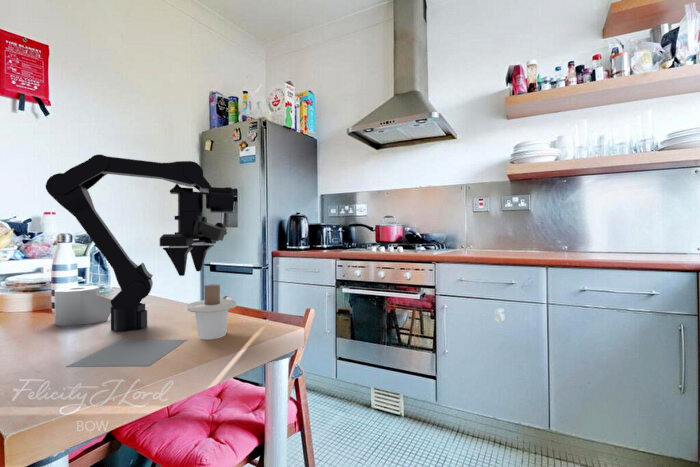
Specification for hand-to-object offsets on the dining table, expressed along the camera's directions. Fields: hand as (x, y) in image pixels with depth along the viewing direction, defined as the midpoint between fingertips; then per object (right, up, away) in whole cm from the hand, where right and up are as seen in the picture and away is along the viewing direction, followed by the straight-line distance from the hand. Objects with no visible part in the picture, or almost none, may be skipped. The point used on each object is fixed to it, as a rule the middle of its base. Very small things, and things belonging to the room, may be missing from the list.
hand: (190, 273), depth 86 cm
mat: (-1, -13, -22) cm, 25 cm away
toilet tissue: (-30, -13, +4) cm, 33 cm away
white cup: (+10, -13, -12) cm, 20 cm away
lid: (+10, -6, -12) cm, 17 cm away
